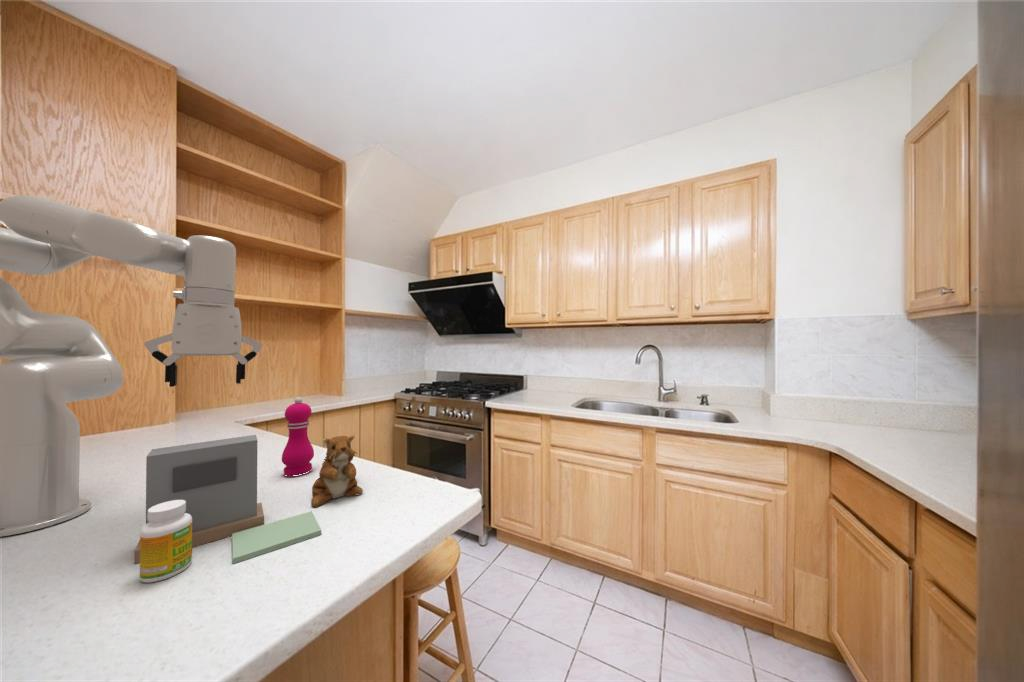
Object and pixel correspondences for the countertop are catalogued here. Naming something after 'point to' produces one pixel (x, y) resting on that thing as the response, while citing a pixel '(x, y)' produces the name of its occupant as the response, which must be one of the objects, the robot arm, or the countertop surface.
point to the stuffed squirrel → (336, 472)
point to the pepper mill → (297, 440)
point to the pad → (273, 536)
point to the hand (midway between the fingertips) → (207, 384)
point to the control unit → (207, 486)
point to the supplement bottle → (165, 541)
